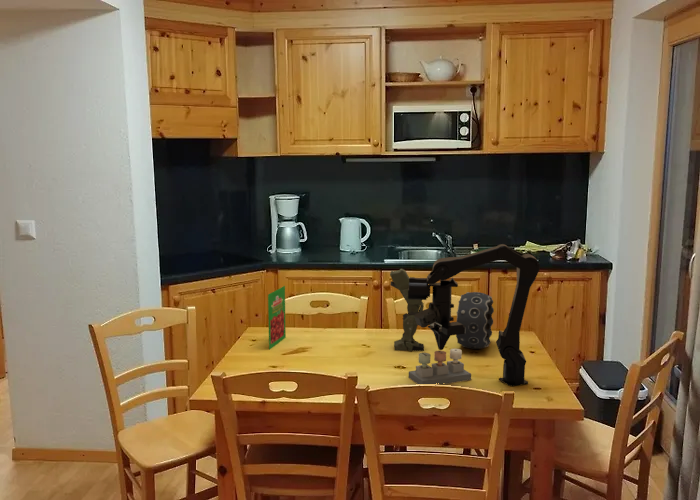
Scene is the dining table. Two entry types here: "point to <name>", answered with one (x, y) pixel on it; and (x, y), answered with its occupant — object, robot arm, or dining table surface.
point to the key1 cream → (455, 355)
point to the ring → (475, 319)
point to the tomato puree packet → (276, 316)
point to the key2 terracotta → (440, 357)
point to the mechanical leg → (409, 321)
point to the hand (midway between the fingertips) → (440, 349)
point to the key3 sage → (424, 359)
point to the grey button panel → (440, 373)
